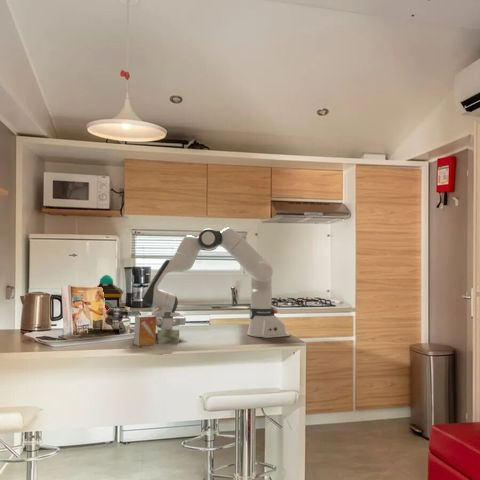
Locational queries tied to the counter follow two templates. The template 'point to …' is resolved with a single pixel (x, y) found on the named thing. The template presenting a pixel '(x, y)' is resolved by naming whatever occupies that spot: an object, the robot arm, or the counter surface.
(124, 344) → the counter surface
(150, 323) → the small box
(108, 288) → the decorative lantern
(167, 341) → the socket
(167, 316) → the connector
